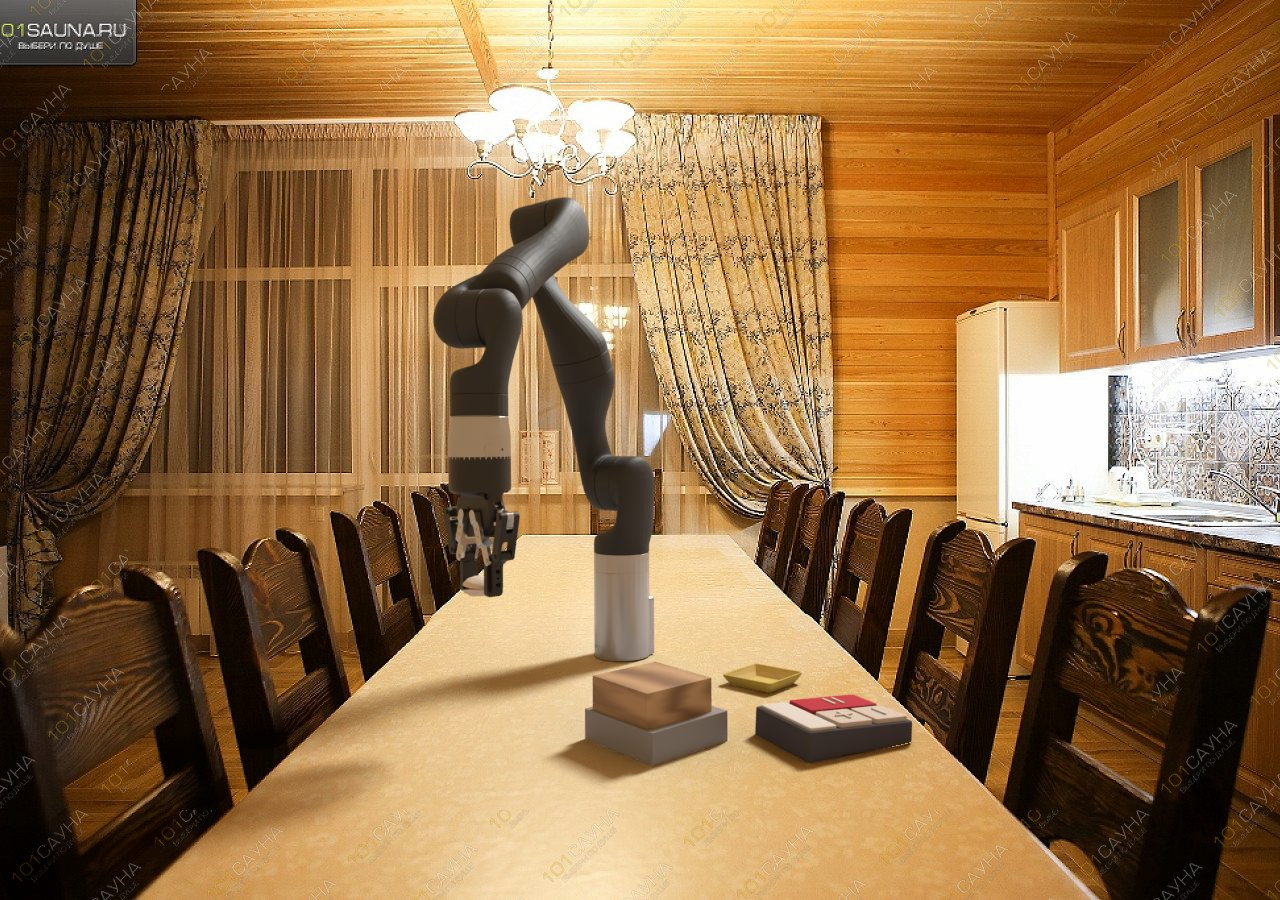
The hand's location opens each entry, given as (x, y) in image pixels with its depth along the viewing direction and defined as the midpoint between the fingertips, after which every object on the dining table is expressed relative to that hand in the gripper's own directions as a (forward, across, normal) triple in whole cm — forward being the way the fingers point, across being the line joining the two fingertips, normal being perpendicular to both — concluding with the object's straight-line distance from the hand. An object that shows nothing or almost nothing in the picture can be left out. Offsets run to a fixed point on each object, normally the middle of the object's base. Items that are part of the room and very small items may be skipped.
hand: (481, 592), depth 105 cm
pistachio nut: (+1, 0, 0) cm, 1 cm away
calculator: (+18, -30, -30) cm, 46 cm away
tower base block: (+18, -16, -14) cm, 28 cm away
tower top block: (+14, -16, -14) cm, 25 cm away
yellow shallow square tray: (+18, -9, -42) cm, 46 cm away
